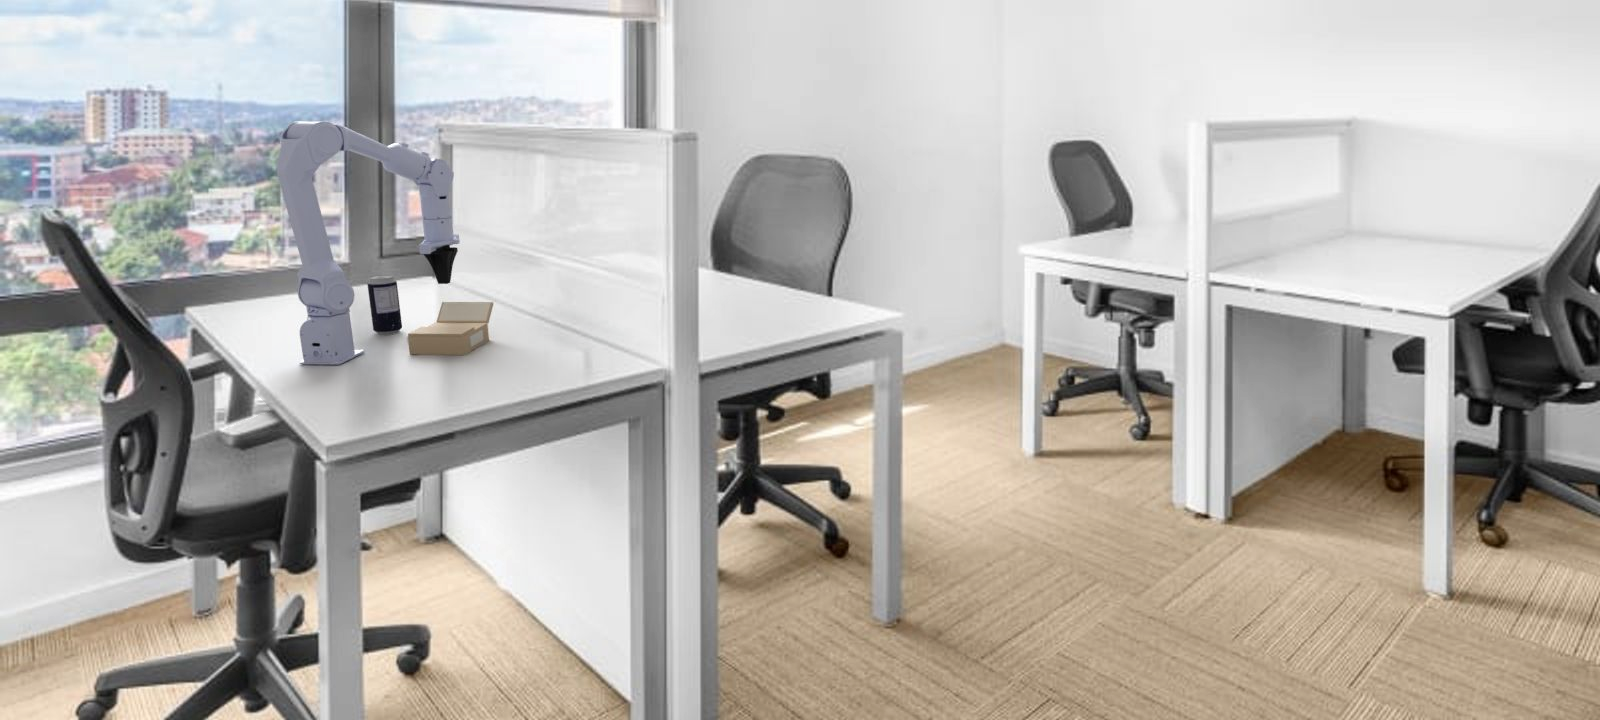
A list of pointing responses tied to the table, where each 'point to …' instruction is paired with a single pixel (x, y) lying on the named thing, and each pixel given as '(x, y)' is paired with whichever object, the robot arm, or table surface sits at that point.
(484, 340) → the carton
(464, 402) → the table surface
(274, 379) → the table surface
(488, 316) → the flap
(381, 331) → the beverage can
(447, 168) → the robot arm
